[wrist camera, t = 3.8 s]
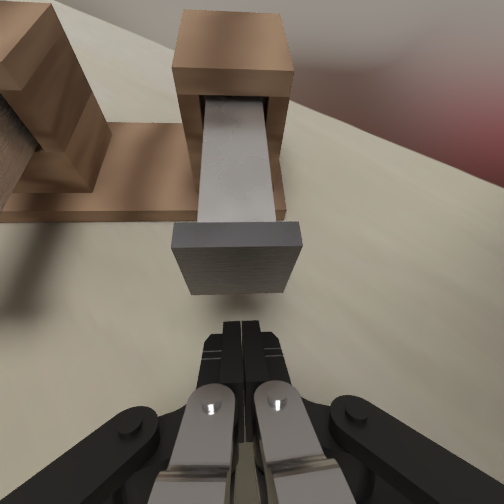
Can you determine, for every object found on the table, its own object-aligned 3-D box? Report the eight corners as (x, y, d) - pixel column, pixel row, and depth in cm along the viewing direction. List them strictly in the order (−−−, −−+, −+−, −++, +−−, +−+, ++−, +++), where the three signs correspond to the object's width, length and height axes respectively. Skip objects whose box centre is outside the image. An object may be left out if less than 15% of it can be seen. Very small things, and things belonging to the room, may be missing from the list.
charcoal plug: (264, 126, 22) (270, 57, 18) (282, 292, 15) (302, 245, 10) (203, 125, 22) (194, 55, 18) (191, 295, 15) (171, 247, 10)
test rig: (272, 136, 30) (290, 3, 20) (283, 220, 24) (317, 90, 14) (46, 133, 29) (-58, -14, 18) (-1, 222, 23) (-194, 76, 12)
